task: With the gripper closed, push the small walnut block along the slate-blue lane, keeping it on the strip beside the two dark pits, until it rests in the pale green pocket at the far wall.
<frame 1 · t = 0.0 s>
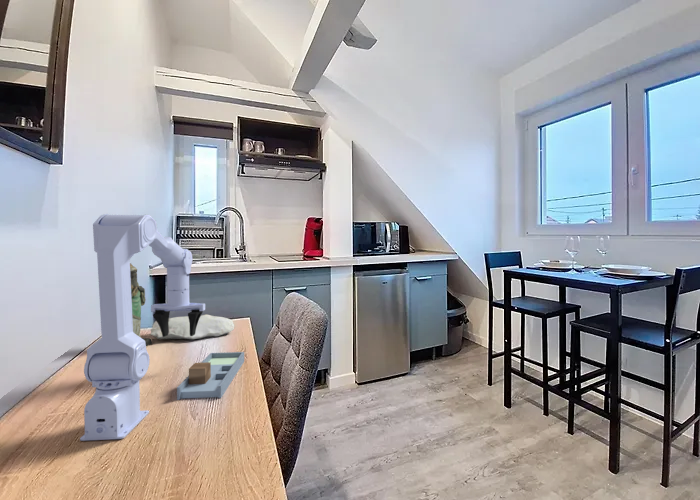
hand: (179, 335, 93), 10 cm above the table, tool pointing down, fingers open, 7 cm apart
figurine: (129, 347, 112), on the table
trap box: (215, 378, 88), on the table
block: (200, 380, 83), point 2 cm above the table, touching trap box
stone: (195, 335, 128), on the table
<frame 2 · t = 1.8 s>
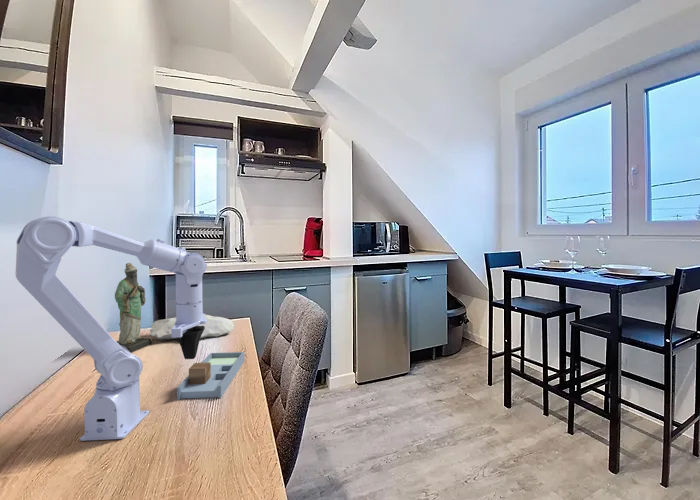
hand: (190, 358, 77), 10 cm above the table, tool pointing down, fingers closed
nothing on the table moved.
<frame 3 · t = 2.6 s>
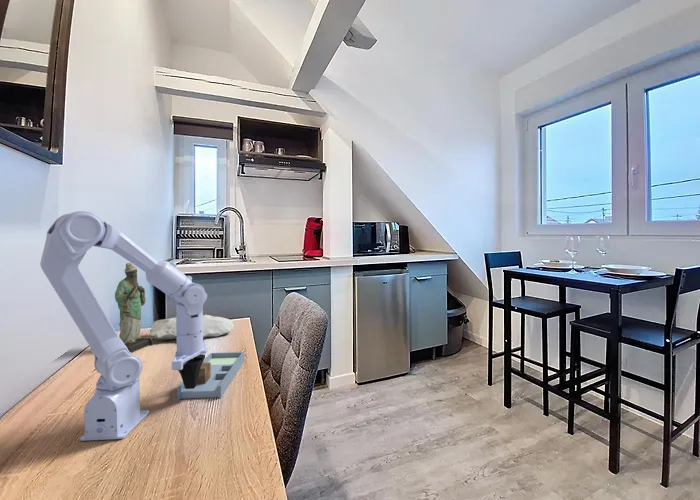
hand: (190, 387, 77), 3 cm above the table, tool pointing down, fingers closed
nothing on the table moved.
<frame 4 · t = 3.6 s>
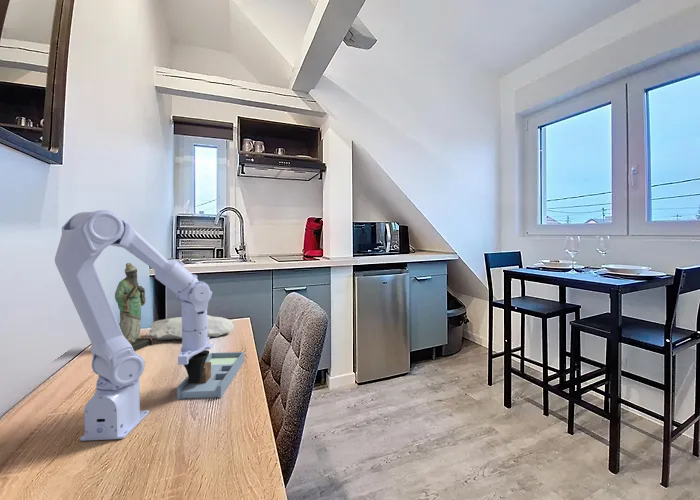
hand: (195, 381, 80), 3 cm above the table, tool pointing down, fingers closed
block: (200, 380, 83), point 2 cm above the table, touching gripper
everything else where it was.
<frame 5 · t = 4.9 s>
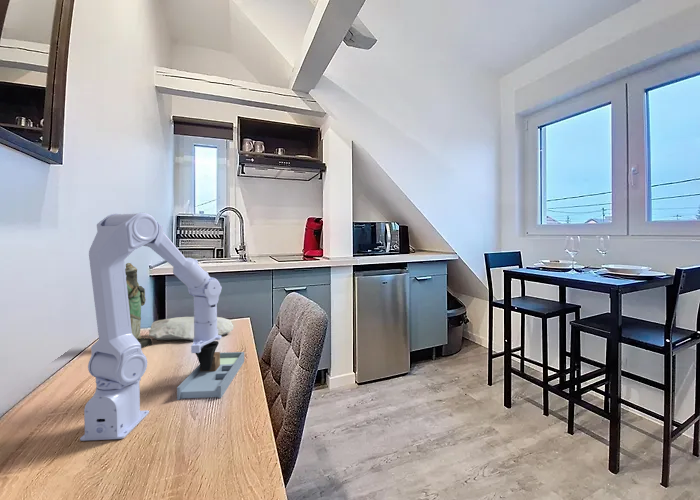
hand: (206, 369, 87), 3 cm above the table, tool pointing down, fingers closed
block: (210, 368, 91), point 2 cm above the table, touching gripper
everything else where it was.
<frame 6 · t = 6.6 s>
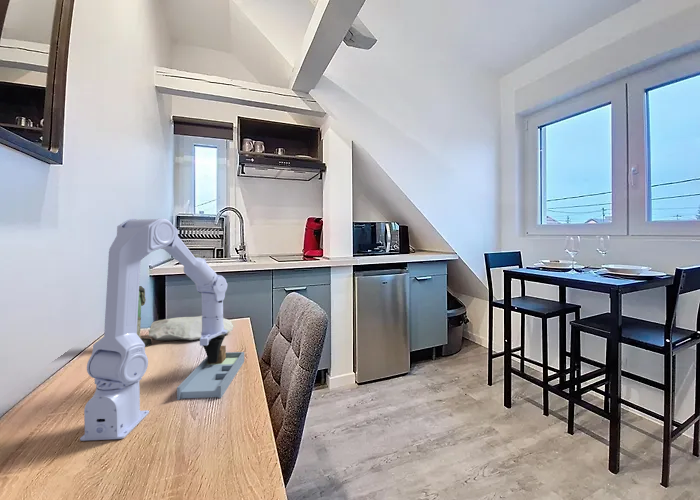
hand: (213, 362, 93), 3 cm above the table, tool pointing down, fingers closed
block: (216, 361, 96), point 2 cm above the table, touching gripper, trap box
everything else where it was.
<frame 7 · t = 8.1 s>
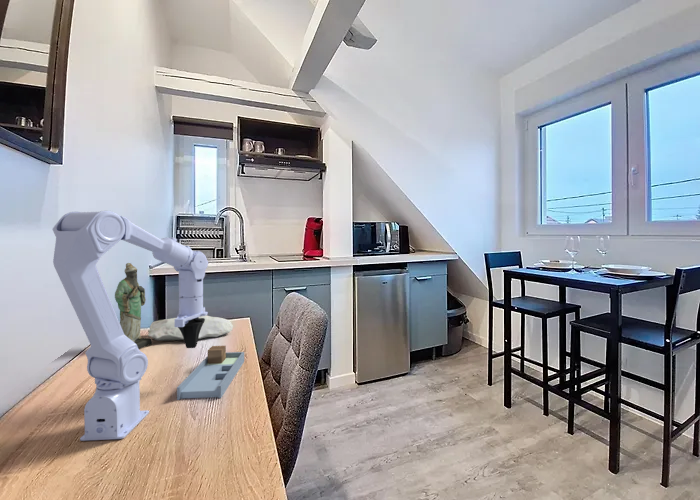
hand: (191, 347, 84), 10 cm above the table, tool pointing down, fingers closed
block: (216, 361, 96), point 2 cm above the table, touching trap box
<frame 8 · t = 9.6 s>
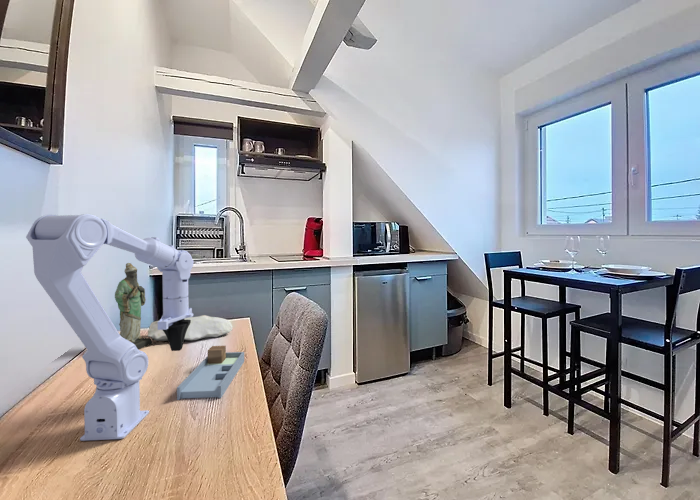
hand: (176, 349, 81), 10 cm above the table, tool pointing down, fingers closed
at the end: block inside the target area on the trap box (2.1 cm from its centre), point 1.6 cm above the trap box's base; block tilted 0° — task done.
